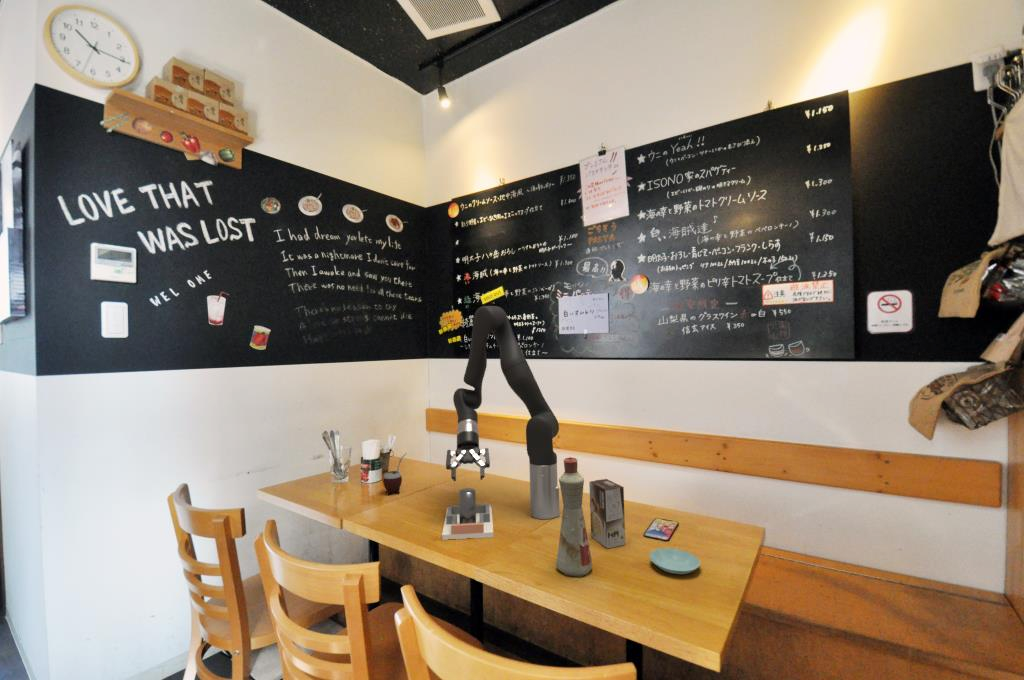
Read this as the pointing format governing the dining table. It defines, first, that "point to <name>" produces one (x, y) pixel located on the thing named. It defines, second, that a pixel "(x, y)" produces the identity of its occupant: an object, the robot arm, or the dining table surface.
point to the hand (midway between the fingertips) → (468, 479)
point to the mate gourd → (393, 480)
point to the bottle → (573, 524)
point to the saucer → (674, 561)
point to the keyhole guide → (468, 524)
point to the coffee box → (607, 513)
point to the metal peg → (467, 506)
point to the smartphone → (661, 529)
